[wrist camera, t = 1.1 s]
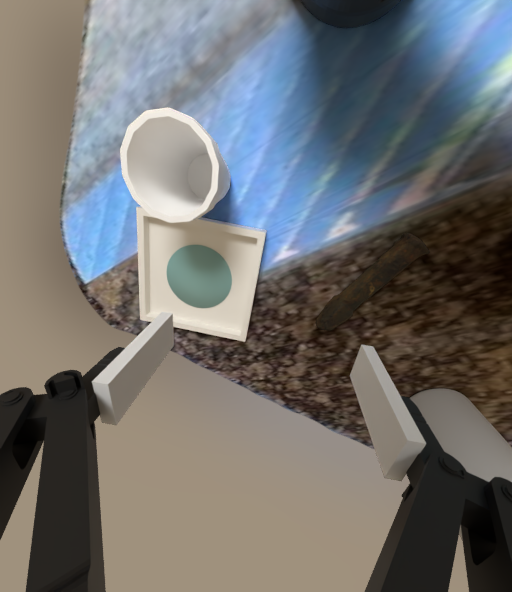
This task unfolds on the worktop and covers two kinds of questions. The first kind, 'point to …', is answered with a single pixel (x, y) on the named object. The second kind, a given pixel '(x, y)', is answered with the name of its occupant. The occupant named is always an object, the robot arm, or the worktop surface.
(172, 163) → the foam cup
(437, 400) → the cylinder vase
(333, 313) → the hand tool
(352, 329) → the worktop surface
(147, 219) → the square white tray
